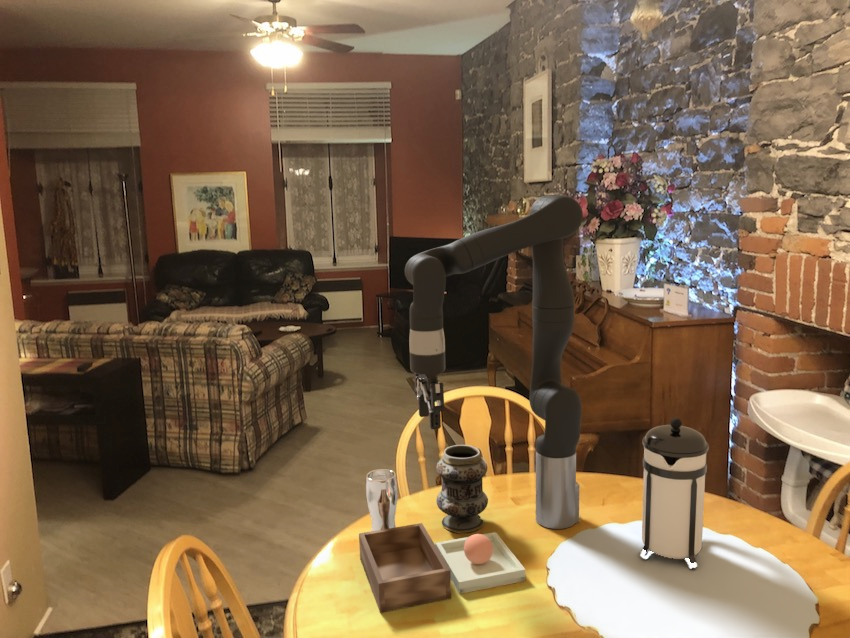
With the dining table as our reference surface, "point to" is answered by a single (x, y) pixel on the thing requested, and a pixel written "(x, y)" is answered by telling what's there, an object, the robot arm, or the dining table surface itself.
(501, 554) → the tray
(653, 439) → the coffee press
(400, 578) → the crate
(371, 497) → the beer glass
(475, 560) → the ball
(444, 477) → the apothecary jar
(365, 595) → the dining table surface
